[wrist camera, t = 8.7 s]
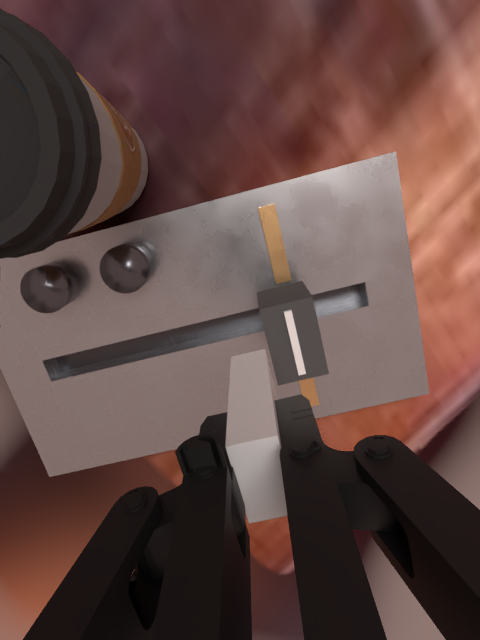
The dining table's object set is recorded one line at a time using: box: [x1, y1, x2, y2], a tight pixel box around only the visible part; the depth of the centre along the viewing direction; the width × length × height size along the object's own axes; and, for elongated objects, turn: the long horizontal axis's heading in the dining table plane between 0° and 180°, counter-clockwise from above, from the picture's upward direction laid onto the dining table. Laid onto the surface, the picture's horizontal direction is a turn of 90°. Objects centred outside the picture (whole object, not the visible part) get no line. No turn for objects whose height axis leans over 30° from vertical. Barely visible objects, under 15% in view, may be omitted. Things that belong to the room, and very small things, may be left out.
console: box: [0, 152, 429, 477], centre depth 28 cm, size 16×28×4 cm, turn 104°
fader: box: [257, 281, 329, 385], centre depth 25 cm, size 4×3×7 cm, turn 14°
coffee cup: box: [0, 9, 148, 259], centre depth 20 cm, size 8×8×15 cm
